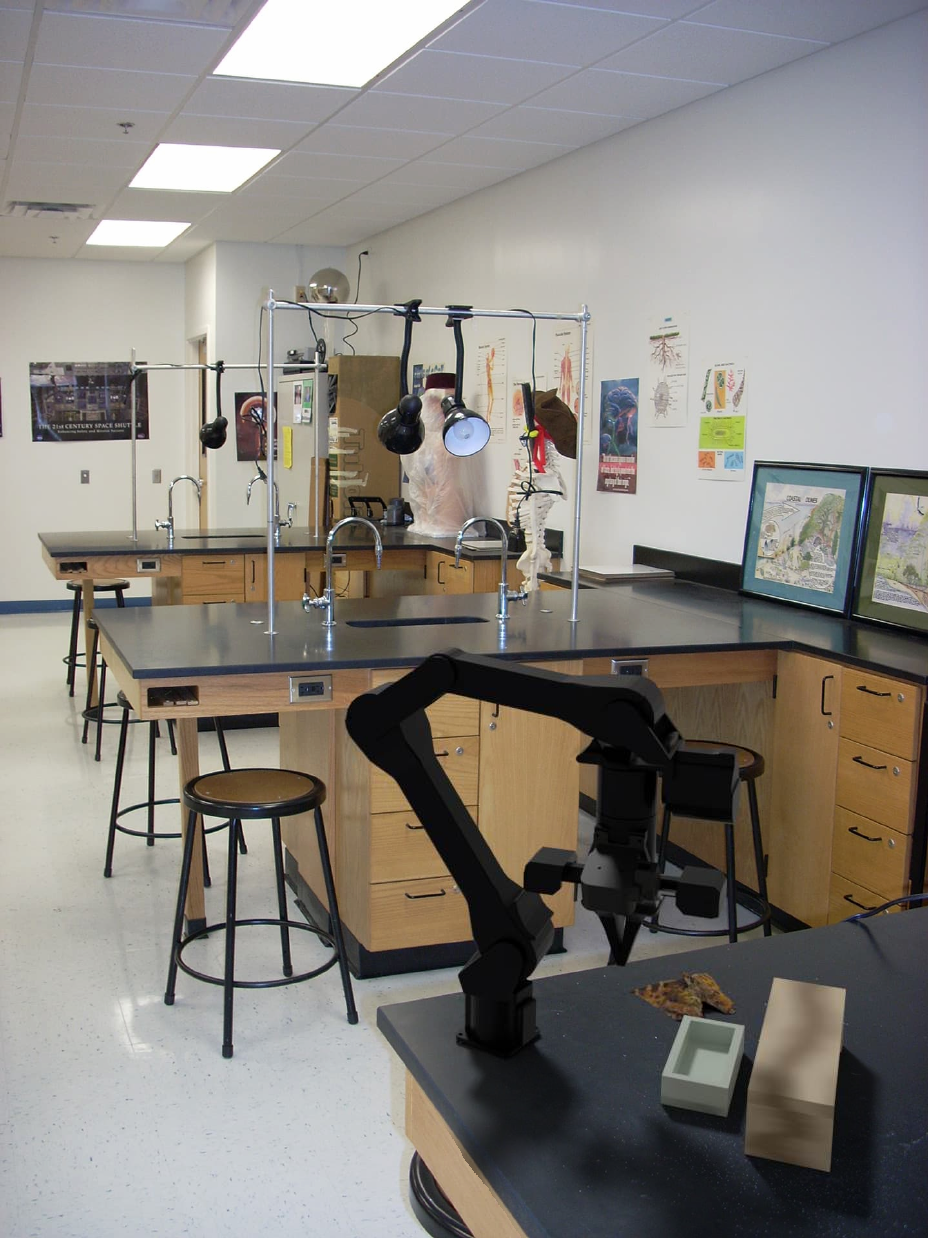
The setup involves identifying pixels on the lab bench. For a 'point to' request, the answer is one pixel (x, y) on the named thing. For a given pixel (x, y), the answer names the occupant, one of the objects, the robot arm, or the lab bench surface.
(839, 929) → the lab bench surface
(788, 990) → the tan rectangular block
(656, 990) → the butterfly model
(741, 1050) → the tray
